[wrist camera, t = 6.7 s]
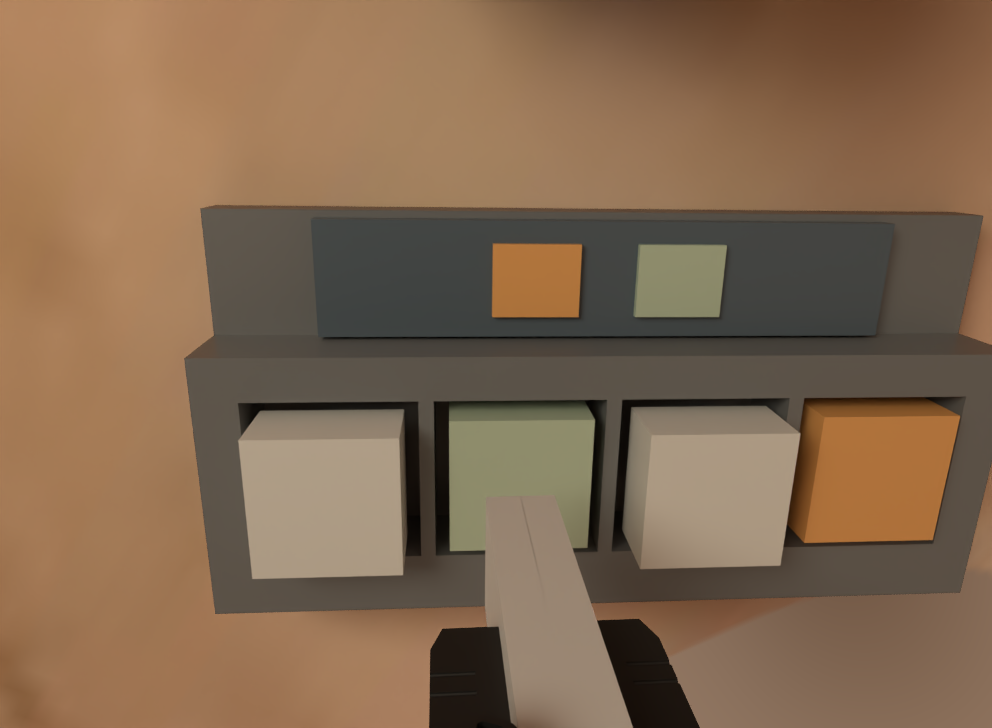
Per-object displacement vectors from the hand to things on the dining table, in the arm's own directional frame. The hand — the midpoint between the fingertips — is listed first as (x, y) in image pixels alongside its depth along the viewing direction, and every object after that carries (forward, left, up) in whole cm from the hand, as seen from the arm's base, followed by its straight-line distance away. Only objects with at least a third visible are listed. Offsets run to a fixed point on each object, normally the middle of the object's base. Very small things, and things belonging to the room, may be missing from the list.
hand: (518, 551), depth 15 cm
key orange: (+10, 0, -5) cm, 12 cm away
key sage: (0, 0, -5) cm, 5 cm away
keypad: (+3, +1, -7) cm, 8 cm away
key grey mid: (+5, 0, -4) cm, 7 cm away
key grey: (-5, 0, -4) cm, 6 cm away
